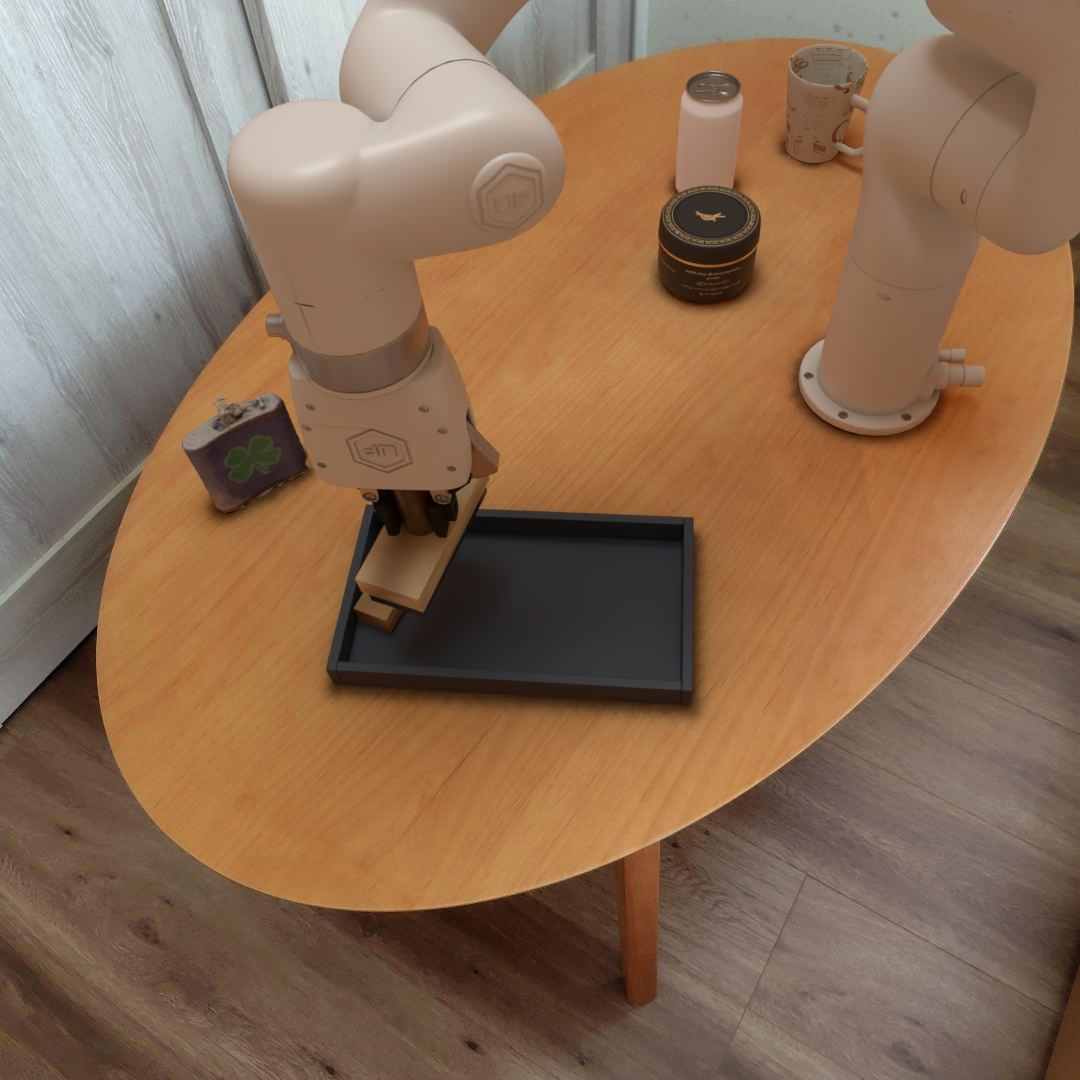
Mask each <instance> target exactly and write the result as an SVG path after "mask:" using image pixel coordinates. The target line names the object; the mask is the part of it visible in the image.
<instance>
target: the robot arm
mask: <svg viewBox="0 0 1080 1080" xmlns="http://www.w3.org/2000/svg"><path fill="white" fill-rule="evenodd" d="M529 1H530V0H367V1H366V2H365V4H364V6H363V8H362V9H361V11H360V13H359V15H358V17H357V19H356V20H355V22H354V24H353V27H352V28H351V32H350V33H349V37H348V39H347V42H346V45H345V48H344V51H343V53H342V57H341V62H340V68H339V74H338V92H339V93H338V94H339V98H340V101H337V100H333V99H325V98H306V99H297V100H293V101H288V102H285V103H281V104H278V105H276V106H274V107H271V108H268V109H266V110H265V111H263V112H261V113H259V114H257V115H256V116H255V117H253V118H252V119H250V120H249V121H248V122H247V123H246V124H244V126H243V127H241V128H240V130H239V131H238V133H237V134H235V136H234V137H233V140H232V142H231V144H230V147H229V149H228V152H227V156H226V157H227V158H226V176H227V182H228V184H229V188H230V191H231V193H232V196H233V200H234V202H235V205H236V207H237V209H238V212H239V214H240V217H241V219H242V222H243V224H244V227H245V229H246V232H247V234H248V236H249V239H250V241H251V245H252V246H253V249H254V251H255V252H254V253H255V254H256V257H257V259H258V261H259V264H260V266H261V269H262V271H263V273H264V277H265V278H266V281H267V283H268V286H269V289H270V290H271V291H270V292H271V293H272V296H273V298H274V301H275V304H276V306H277V308H278V310H279V312H278V313H277V312H275V313H274V312H271V313H267V315H266V318H265V330H266V334H267V336H268V337H269V338H280V339H281V340H283V341H286V342H288V343H289V344H290V348H291V350H292V353H291V355H290V357H289V360H288V364H287V365H288V377H289V385H290V390H291V391H290V392H291V396H292V401H293V406H294V410H295V417H296V419H297V424H298V428H299V431H300V434H301V438H302V441H303V444H304V447H305V450H306V455H307V458H306V461H305V464H306V466H307V467H308V468H309V469H311V470H314V471H315V473H316V475H317V476H318V478H319V479H321V481H323V482H324V483H326V484H328V485H330V486H334V487H338V488H339V487H340V488H349V489H356V490H359V492H360V496H361V498H362V499H363V500H364V501H365V502H368V503H371V504H372V505H373V506H374V509H375V512H376V514H377V517H378V519H382V520H383V522H384V525H385V528H386V530H387V533H388V535H389V536H397V534H399V533H400V529H401V524H402V520H401V517H400V515H399V512H398V510H397V507H396V505H395V502H394V500H393V497H392V495H391V492H390V489H394V490H429V491H430V495H429V500H428V511H429V514H430V517H431V520H432V524H433V527H434V530H435V534H436V536H438V537H439V538H446V537H447V533H448V528H449V522H450V521H456V520H457V515H458V500H457V496H456V492H457V491H459V490H460V489H462V488H463V487H465V486H466V485H468V484H469V483H470V481H471V479H473V478H476V479H479V478H482V477H485V476H488V475H489V476H491V475H494V474H497V473H498V471H499V467H500V466H499V465H500V460H501V454H500V452H498V450H497V449H496V448H495V447H494V446H493V445H492V444H491V443H490V442H489V441H488V440H487V439H486V438H485V437H484V436H483V435H482V434H481V432H480V431H478V430H477V424H476V418H475V414H474V409H473V406H472V402H471V399H470V396H469V393H468V389H467V386H466V384H465V381H464V378H463V375H462V373H461V370H460V367H459V366H458V363H457V361H456V359H455V357H454V354H453V353H452V350H451V348H450V346H449V345H448V343H447V341H446V339H445V338H444V336H443V334H442V333H441V331H440V329H439V328H438V327H437V326H434V325H430V324H429V320H428V316H427V315H428V314H427V312H426V307H425V302H424V300H423V299H424V298H423V295H422V291H421V287H420V281H419V278H418V273H417V270H416V265H415V261H417V260H423V259H429V258H433V257H434V258H435V257H441V256H444V255H451V254H457V253H463V252H468V251H474V250H478V249H482V248H488V247H491V246H495V245H499V244H501V243H504V242H507V241H510V240H513V239H515V238H517V237H519V236H521V235H523V234H524V233H526V232H528V231H529V230H531V229H533V228H534V227H536V226H537V225H538V224H539V223H540V222H541V221H542V220H544V218H545V217H546V216H547V215H549V213H550V212H551V210H552V209H553V208H554V207H555V205H556V203H557V202H558V200H559V197H560V195H561V193H562V191H563V187H564V184H565V179H566V173H567V171H566V169H567V164H566V156H565V150H564V147H563V144H562V140H561V138H560V136H559V133H558V132H557V129H556V128H555V127H554V125H553V123H552V122H551V121H550V120H549V119H548V117H547V115H545V114H544V113H543V111H542V110H541V109H540V108H539V107H538V106H537V105H536V104H535V103H534V102H533V101H532V100H531V99H530V98H529V97H527V95H525V94H524V93H523V91H521V90H520V89H519V88H518V87H517V86H516V85H515V84H513V83H512V82H511V81H510V79H508V78H507V76H505V74H503V72H501V70H500V69H498V68H497V66H495V65H494V64H493V62H491V61H490V60H489V59H488V58H487V57H486V56H487V54H488V52H489V51H490V50H491V48H492V46H493V45H494V43H495V42H496V41H497V39H498V38H499V37H500V35H501V34H502V32H504V29H505V28H506V27H507V26H508V25H509V24H510V22H511V21H512V20H513V18H514V17H515V16H516V15H517V14H518V13H519V12H520V11H521V9H523V8H524V7H525V5H527V4H528V2H529ZM924 1H925V5H926V7H927V9H928V10H929V12H930V14H931V15H932V17H934V18H935V20H936V21H937V22H938V23H939V24H940V25H941V26H943V27H944V28H945V29H946V30H948V31H949V32H951V33H939V34H931V35H929V36H926V37H923V38H920V39H918V40H917V41H914V42H912V43H911V44H909V45H908V46H906V47H905V48H903V49H902V50H901V51H900V52H899V53H898V54H897V55H896V56H894V57H893V58H892V60H891V61H890V62H889V63H888V64H887V66H886V67H885V69H884V70H883V72H882V73H881V75H880V77H878V80H877V82H876V83H875V86H874V88H873V90H872V94H871V96H870V99H869V100H868V101H869V105H868V109H867V113H865V121H864V126H863V139H862V140H863V141H862V142H863V144H862V146H863V156H862V176H861V177H862V178H861V187H860V194H859V199H858V204H857V209H856V215H855V218H854V222H853V227H852V231H851V234H850V238H849V241H848V245H847V249H846V253H845V257H844V260H843V265H842V269H841V272H840V277H839V281H838V285H837V288H836V293H835V297H834V302H833V305H832V308H831V313H830V315H829V316H830V317H829V321H828V324H827V329H826V332H825V336H824V338H823V339H820V340H819V341H817V342H816V343H815V344H813V345H812V346H811V347H810V348H809V349H808V350H807V352H806V353H805V355H804V356H803V358H802V361H801V364H800V367H799V372H798V388H799V391H800V395H801V396H802V398H803V400H804V402H805V404H806V405H807V406H808V407H809V408H810V409H811V411H812V412H813V413H814V414H816V415H817V416H818V417H819V418H821V419H822V420H823V421H825V422H826V423H828V424H830V425H832V426H834V427H836V428H839V429H840V430H843V431H846V432H849V433H854V434H858V435H865V436H875V437H876V436H890V435H896V434H901V433H904V432H905V431H908V430H911V429H914V428H915V427H916V426H918V425H920V424H921V423H923V422H924V421H925V420H926V419H927V418H928V417H929V416H931V413H932V412H933V410H934V409H935V407H936V405H937V403H938V399H939V397H940V392H941V390H945V389H946V388H947V386H959V387H960V388H982V387H983V386H984V383H985V381H986V367H985V366H984V365H971V364H970V365H969V364H966V365H965V364H964V363H965V362H966V358H967V357H966V356H967V351H966V349H965V348H952V347H951V348H940V345H941V343H942V341H943V338H944V335H945V332H946V330H947V327H948V326H949V322H950V321H951V317H952V314H953V312H954V310H955V307H956V305H957V302H958V299H959V297H960V294H961V292H962V289H963V287H964V285H965V281H966V279H967V277H968V274H969V271H970V269H971V267H972V265H973V262H974V260H975V257H976V254H977V251H978V249H979V246H980V242H981V236H982V237H983V238H985V239H987V241H990V242H991V243H993V244H995V245H996V246H998V247H999V248H1001V249H1003V250H1006V251H1008V252H1010V253H1012V254H1016V255H1022V256H1037V255H1038V256H1039V255H1043V254H1046V253H1049V252H1052V251H1055V250H1057V249H1058V248H1060V247H1063V246H1064V245H1065V244H1067V243H1068V242H1070V241H1071V240H1073V239H1074V238H1075V237H1076V236H1077V235H1078V234H1079V233H1080V0H924ZM949 364H962V365H949Z"/></svg>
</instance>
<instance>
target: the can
mask: <svg viewBox="0 0 1080 1080" xmlns="http://www.w3.org/2000/svg"><path fill="white" fill-rule="evenodd" d="M741 89H742V83H741V81H740V80H739V78H737V77H736V76H735V75H733V74H731V73H728V72H727V71H720V70H706V71H702V72H698V73H695V74H694V75H692V76H691V77H690V78H688V80H687V81H686V83H685V89H684V91H683V93H682V95H681V98H680V105H679V119H678V120H679V121H678V132H677V133H678V135H677V148H676V149H677V151H676V168H675V188H676V191H677V193H679V192H682V191H684V190H686V189H690V188H693V187H699V186H722V187H727V188H731V189H733V188H734V181H735V174H736V167H737V158H738V152H739V151H738V150H739V143H740V142H739V141H740V135H741V125H742V116H743V107H744V98H743V93H742V91H741Z"/></svg>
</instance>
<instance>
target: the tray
mask: <svg viewBox="0 0 1080 1080" xmlns="http://www.w3.org/2000/svg"><path fill="white" fill-rule="evenodd" d="M694 523H695V518H694V517H693V516H675V515H674V516H673V515H672V516H671V515H650V514H649V515H647V514H642V515H641V514H624V513H623V514H621V513H620V514H619V513H600V512H599V513H595V512H574V511H573V512H571V511H549V510H547V511H546V510H545V511H544V510H516V509H495V508H479V510H478V512H477V514H476V516H475V518H474V520H473V522H472V524H471V526H470V528H469V530H468V532H467V534H466V536H465V538H464V540H463V542H462V544H461V546H460V548H459V550H458V552H457V554H456V556H455V558H454V560H453V562H452V564H451V566H450V568H449V570H448V572H447V574H446V576H445V578H444V580H443V582H442V584H441V586H440V588H439V590H438V592H437V594H436V596H435V598H434V600H433V602H432V604H431V606H430V609H429V611H428V613H427V615H426V617H425V618H423V617H420V616H417V615H414V614H411V613H408V612H405V611H403V612H402V614H401V616H400V618H399V619H398V621H397V623H396V624H395V626H394V628H393V629H392V631H391V632H388V631H385V630H382V629H380V628H377V627H374V626H372V625H369V624H366V623H364V622H361V621H359V620H358V617H357V615H356V613H355V611H354V607H355V605H356V604H357V602H358V601H359V599H360V597H361V596H362V594H363V592H361V590H360V588H359V586H358V584H357V582H356V580H355V578H356V576H357V574H358V572H359V571H360V569H361V567H362V565H363V563H364V561H365V560H366V558H367V556H368V554H369V552H370V550H371V549H372V547H373V545H374V543H375V541H376V539H377V538H378V536H379V534H380V532H381V530H382V528H383V527H384V522H383V520H382V519H378V517H377V514H376V512H375V509H374V506H373V504H372V503H371V504H370V503H369V504H368V503H366V504H365V506H364V510H363V514H362V519H361V523H360V527H359V530H358V536H357V539H356V543H355V547H354V550H353V556H352V559H351V564H350V567H349V572H348V576H347V580H346V584H345V588H344V591H343V592H344V593H343V596H342V601H341V605H340V610H339V613H338V617H337V621H336V625H335V629H334V633H333V638H332V642H331V645H330V650H329V654H328V658H327V662H326V667H325V671H326V673H327V675H328V677H329V678H330V680H331V682H332V684H333V685H341V686H343V685H344V686H358V687H373V688H390V689H391V688H393V689H407V690H408V689H409V690H423V691H424V690H425V691H439V692H440V691H441V692H456V693H457V692H458V693H459V692H460V693H472V694H473V693H474V694H475V693H476V694H490V695H491V694H492V695H506V696H508V695H510V696H525V697H538V698H540V697H542V698H557V699H571V700H572V699H574V700H575V699H576V700H588V701H589V700H591V701H592V700H593V701H607V702H621V703H622V702H624V703H625V702H626V703H641V704H655V705H656V704H659V705H674V706H689V707H690V706H691V705H692V699H693V693H694V555H695V553H694V551H695V550H694V541H695V540H694V538H695V535H694V534H695V533H694V532H695V530H694V529H695V525H694Z"/></svg>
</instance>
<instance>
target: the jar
mask: <svg viewBox="0 0 1080 1080" xmlns="http://www.w3.org/2000/svg"><path fill="white" fill-rule="evenodd" d="M761 217H762V216H761V212H760V209H759V207H758V205H757V204H756V203H755V202H754V200H752V198H751V197H749V196H748V195H746V194H744V193H743V192H741V191H739V190H736V189H733V188H732V189H731V188H727V187H722V186H699V187H693V188H690V189H686V190H684V191H682V192H677V193H676V194H674V195H672V196H671V198H669V199H668V200H667V201H666V203H665V204H664V205H663V207H662V209H661V211H660V215H659V220H658V221H659V222H658V228H657V237H658V239H657V240H658V251H657V266H658V272H659V275H660V279H661V281H662V284H663V285H664V286H665V288H666V289H667V290H668V291H669V292H670V293H671V294H673V295H674V296H676V297H677V298H679V299H681V300H683V301H686V302H689V303H693V304H698V305H713V304H718V303H722V302H725V301H728V300H731V299H733V297H736V295H738V294H740V292H742V291H743V290H744V289H745V287H746V286H747V284H748V282H749V280H750V279H751V276H752V274H753V273H754V269H755V265H756V264H755V263H756V257H757V251H758V245H759V243H760V238H761V227H762V218H761Z"/></svg>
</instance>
